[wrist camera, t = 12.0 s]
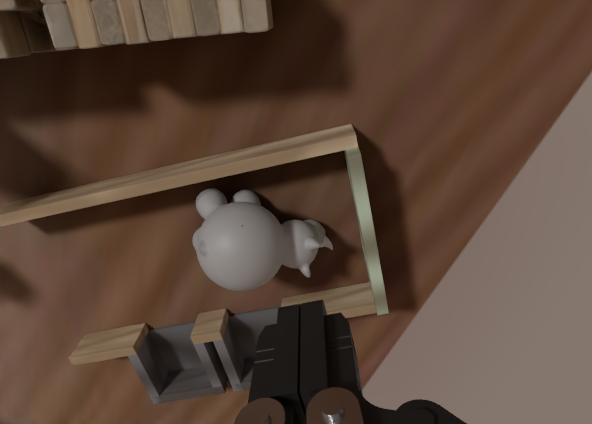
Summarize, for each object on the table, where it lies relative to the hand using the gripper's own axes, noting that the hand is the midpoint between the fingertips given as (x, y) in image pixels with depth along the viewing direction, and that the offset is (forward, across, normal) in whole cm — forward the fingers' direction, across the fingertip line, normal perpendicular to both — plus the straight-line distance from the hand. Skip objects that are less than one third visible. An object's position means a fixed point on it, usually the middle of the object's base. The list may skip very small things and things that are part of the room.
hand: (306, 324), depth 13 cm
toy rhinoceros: (+23, +5, +7) cm, 25 cm away
